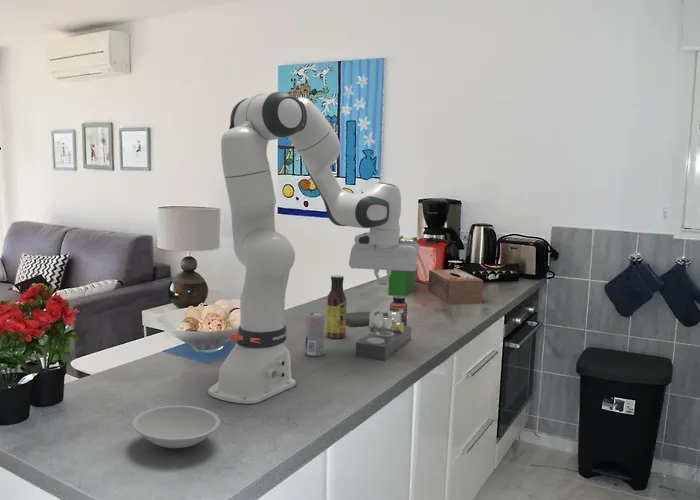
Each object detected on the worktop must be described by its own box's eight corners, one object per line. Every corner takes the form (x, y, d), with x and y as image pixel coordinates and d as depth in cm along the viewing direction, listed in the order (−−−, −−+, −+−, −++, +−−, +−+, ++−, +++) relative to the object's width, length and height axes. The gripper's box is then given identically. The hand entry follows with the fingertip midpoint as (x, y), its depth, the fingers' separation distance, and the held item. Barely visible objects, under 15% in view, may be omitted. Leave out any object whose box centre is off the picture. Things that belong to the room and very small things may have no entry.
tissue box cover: (481, 304, 238) (483, 280, 237) (448, 305, 236) (450, 281, 234) (458, 291, 263) (459, 269, 262) (428, 291, 261) (429, 269, 259)
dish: (114, 451, 110) (113, 426, 109) (168, 421, 123) (167, 399, 122) (187, 473, 103) (187, 447, 102) (236, 440, 115) (236, 416, 115)
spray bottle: (336, 321, 207) (394, 315, 219) (351, 329, 198) (410, 322, 209) (337, 313, 207) (394, 307, 219) (351, 320, 197) (410, 314, 209)
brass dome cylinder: (401, 334, 178) (401, 324, 177) (392, 332, 179) (392, 323, 178) (404, 331, 180) (404, 322, 180) (395, 330, 182) (395, 321, 181)
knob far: (397, 329, 182) (398, 313, 181) (385, 327, 183) (386, 311, 183) (401, 326, 185) (402, 310, 185) (390, 324, 187) (390, 309, 186)
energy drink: (315, 349, 173) (315, 310, 172) (327, 354, 170) (328, 314, 168) (301, 353, 170) (302, 313, 168) (313, 357, 166) (314, 317, 164)
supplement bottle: (405, 331, 194) (406, 299, 193) (388, 330, 196) (389, 297, 194) (407, 327, 200) (408, 295, 199) (390, 325, 201) (391, 294, 200)
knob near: (379, 332, 167) (380, 315, 166) (366, 330, 168) (367, 313, 168) (384, 329, 170) (385, 312, 170) (372, 327, 172) (372, 310, 171)
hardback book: (399, 287, 266) (401, 236, 263) (415, 289, 264) (417, 237, 260) (388, 295, 250) (390, 240, 246) (404, 297, 247) (406, 241, 244)
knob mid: (388, 336, 175) (389, 319, 174) (376, 334, 176) (377, 317, 175) (393, 332, 178) (393, 316, 177) (381, 331, 180) (381, 314, 179)
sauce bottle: (343, 339, 184) (344, 278, 181) (324, 338, 185) (325, 277, 182) (347, 334, 190) (348, 274, 187) (329, 332, 191) (330, 273, 189)
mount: (384, 360, 165) (385, 346, 164) (355, 355, 169) (356, 341, 168) (410, 338, 187) (411, 326, 186) (384, 334, 190) (385, 322, 190)
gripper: (418, 238, 173) (416, 284, 175) (350, 235, 174) (348, 280, 176) (420, 241, 167) (417, 288, 168) (349, 237, 167) (347, 284, 169)
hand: (381, 284), depth 172 cm, fingers closed
